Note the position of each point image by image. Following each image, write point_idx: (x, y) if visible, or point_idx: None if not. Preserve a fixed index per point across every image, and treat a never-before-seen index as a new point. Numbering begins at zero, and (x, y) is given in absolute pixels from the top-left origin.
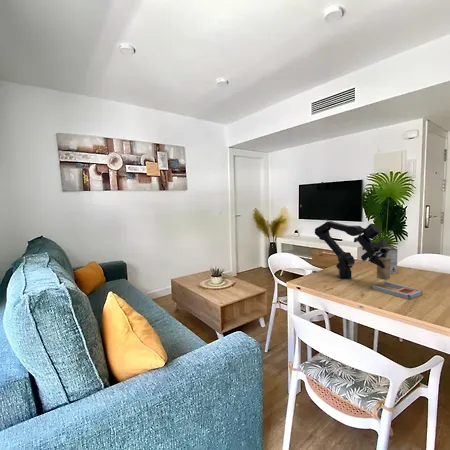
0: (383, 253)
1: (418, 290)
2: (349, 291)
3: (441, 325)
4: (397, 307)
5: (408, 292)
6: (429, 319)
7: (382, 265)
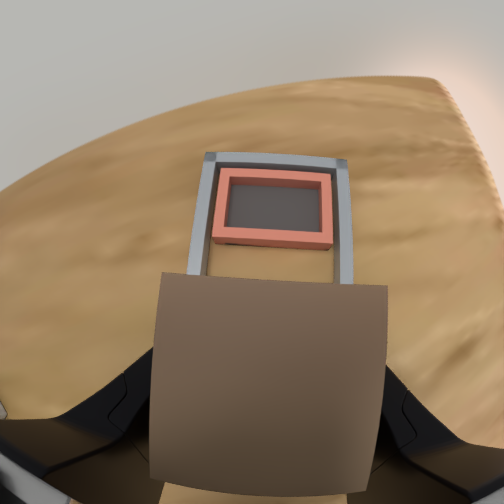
0: (68, 491)
1: (214, 164)
2: (456, 421)
3: (436, 82)
4: (453, 181)
5: (243, 208)
6: (436, 100)
7: None
